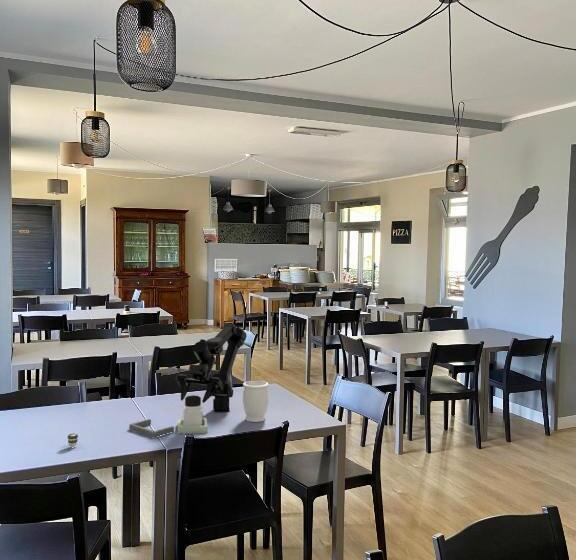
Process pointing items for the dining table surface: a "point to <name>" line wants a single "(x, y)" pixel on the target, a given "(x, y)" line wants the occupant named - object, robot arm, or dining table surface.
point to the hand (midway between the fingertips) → (192, 401)
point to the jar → (255, 400)
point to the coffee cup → (72, 439)
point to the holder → (139, 428)
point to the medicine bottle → (192, 411)
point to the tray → (192, 427)
